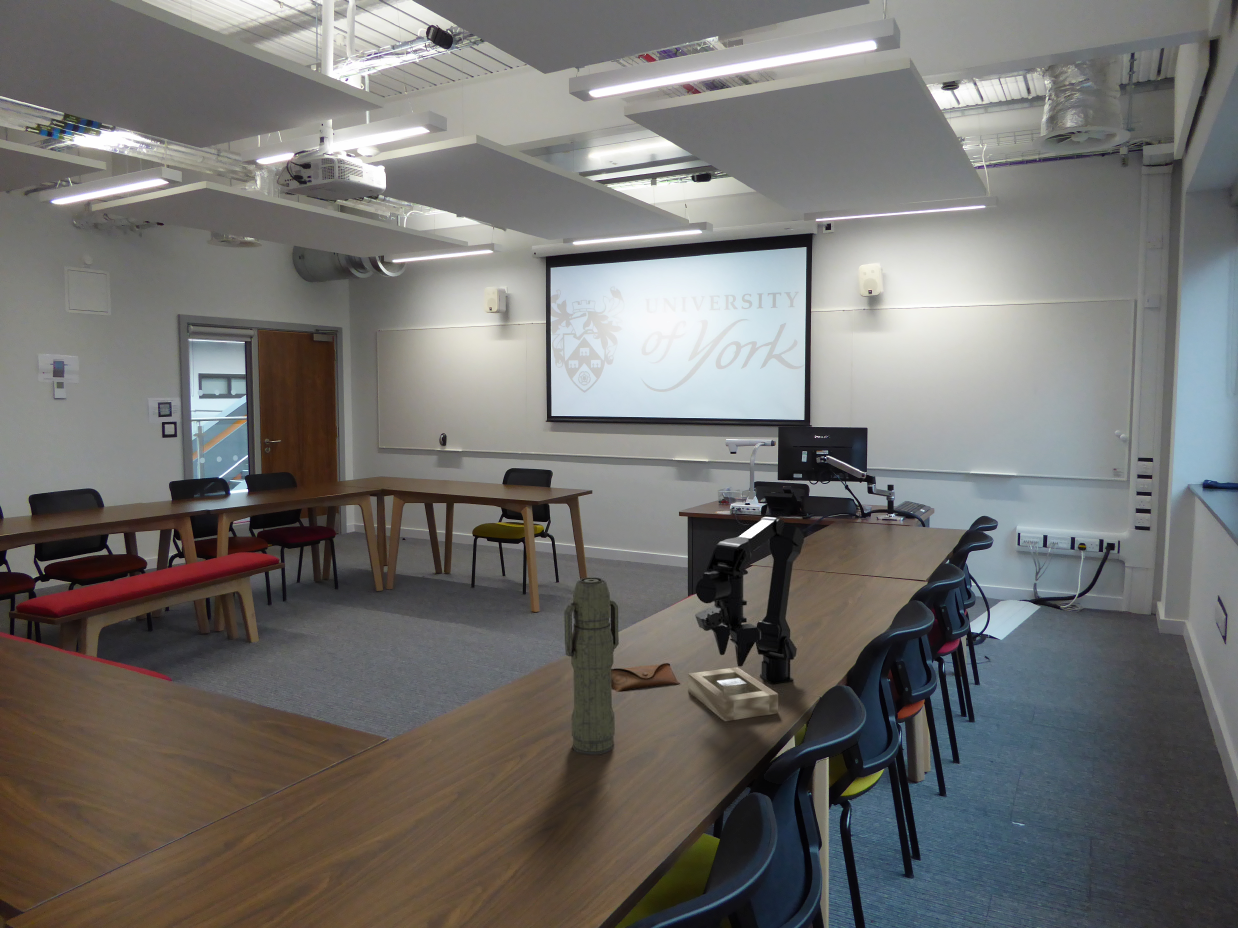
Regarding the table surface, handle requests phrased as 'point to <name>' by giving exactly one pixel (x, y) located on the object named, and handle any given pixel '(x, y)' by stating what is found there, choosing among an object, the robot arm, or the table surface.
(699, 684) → the well
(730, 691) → the grey rectangular block
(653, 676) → the sunglasses case
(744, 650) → the robot arm
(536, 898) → the table surface
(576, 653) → the thermos
